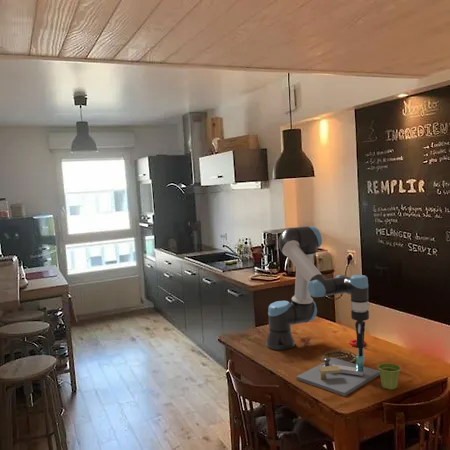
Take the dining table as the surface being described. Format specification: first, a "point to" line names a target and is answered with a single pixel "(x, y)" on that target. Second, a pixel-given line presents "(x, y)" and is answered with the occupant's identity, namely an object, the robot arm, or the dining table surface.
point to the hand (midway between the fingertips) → (361, 361)
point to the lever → (346, 369)
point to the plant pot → (389, 375)
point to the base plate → (338, 378)
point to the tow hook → (354, 343)
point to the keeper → (328, 371)
